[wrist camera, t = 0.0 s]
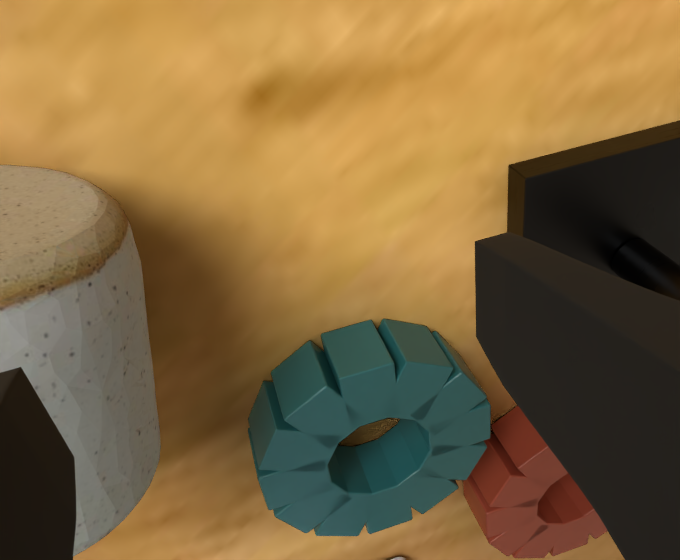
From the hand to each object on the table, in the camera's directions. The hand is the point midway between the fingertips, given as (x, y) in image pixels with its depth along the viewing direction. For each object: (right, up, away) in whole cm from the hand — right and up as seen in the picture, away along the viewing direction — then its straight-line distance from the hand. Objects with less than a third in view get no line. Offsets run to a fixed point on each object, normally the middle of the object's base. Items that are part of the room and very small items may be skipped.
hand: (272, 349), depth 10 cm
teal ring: (+2, -4, +16) cm, 17 cm away
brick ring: (+11, -8, +21) cm, 25 cm away
